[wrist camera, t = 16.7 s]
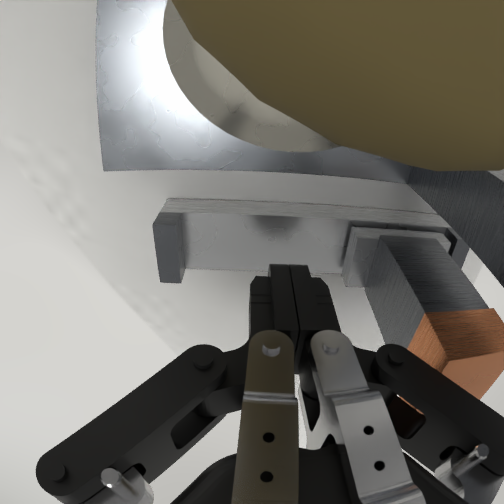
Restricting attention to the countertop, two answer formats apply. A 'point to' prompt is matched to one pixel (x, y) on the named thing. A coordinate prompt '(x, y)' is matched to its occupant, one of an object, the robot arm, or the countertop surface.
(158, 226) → the lever rail
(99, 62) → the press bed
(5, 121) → the countertop surface
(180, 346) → the countertop surface
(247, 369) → the robot arm
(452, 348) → the lever
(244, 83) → the cork
